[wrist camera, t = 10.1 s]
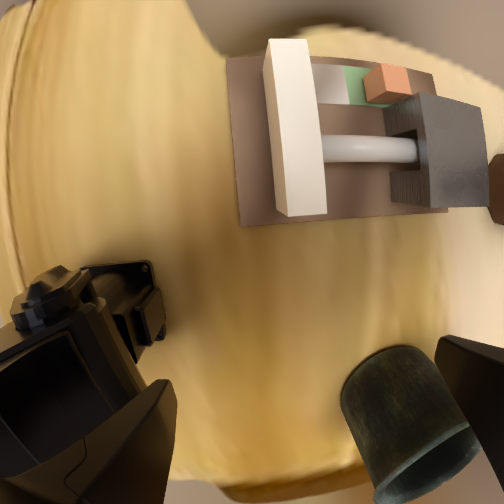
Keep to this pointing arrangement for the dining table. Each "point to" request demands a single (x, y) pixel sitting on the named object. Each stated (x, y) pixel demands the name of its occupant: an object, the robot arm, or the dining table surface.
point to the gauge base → (331, 123)
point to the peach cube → (386, 84)
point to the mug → (406, 425)
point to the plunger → (311, 133)
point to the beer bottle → (496, 189)
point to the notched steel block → (440, 152)
